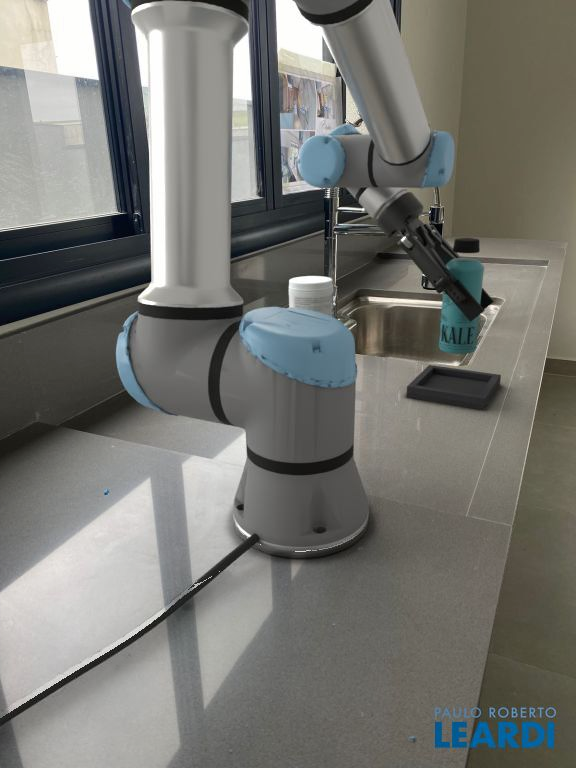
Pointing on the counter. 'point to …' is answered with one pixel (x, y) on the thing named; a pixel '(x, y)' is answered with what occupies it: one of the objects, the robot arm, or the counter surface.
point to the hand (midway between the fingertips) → (482, 311)
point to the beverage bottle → (454, 324)
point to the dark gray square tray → (454, 386)
